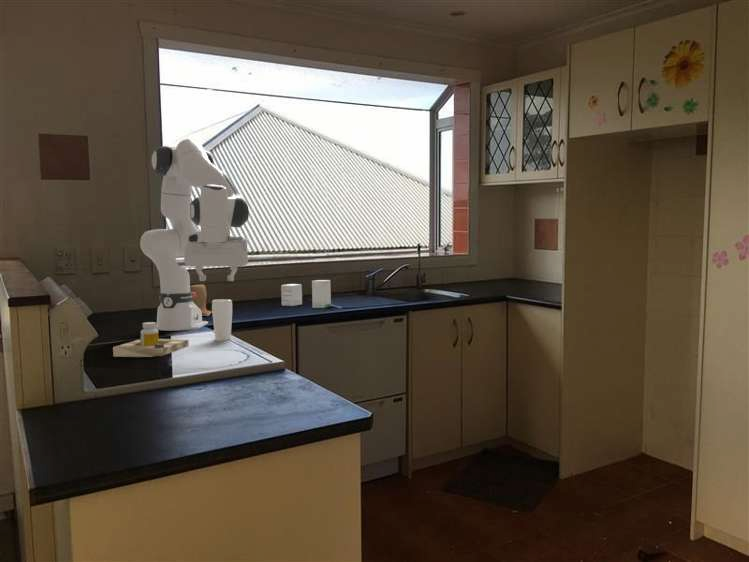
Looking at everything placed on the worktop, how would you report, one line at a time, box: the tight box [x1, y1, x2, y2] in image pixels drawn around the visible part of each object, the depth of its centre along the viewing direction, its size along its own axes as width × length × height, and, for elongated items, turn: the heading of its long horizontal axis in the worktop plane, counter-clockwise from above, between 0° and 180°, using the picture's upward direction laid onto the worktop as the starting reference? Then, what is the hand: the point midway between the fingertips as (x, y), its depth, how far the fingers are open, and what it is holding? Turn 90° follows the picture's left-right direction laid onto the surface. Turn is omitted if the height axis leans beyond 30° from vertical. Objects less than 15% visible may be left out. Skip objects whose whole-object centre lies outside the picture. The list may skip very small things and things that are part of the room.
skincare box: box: [311, 279, 332, 309], centre depth 301 cm, size 8×7×16 cm
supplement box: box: [280, 283, 303, 307], centre depth 314 cm, size 7×7×13 cm
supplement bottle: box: [140, 321, 159, 346], centre depth 205 cm, size 5×5×10 cm
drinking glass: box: [211, 298, 233, 342], centre depth 221 cm, size 7×7×15 cm
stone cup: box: [190, 284, 212, 317], centre depth 289 cm, size 15×12×15 cm
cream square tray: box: [112, 338, 189, 358], centre depth 205 cm, size 17×17×4 cm
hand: (216, 280), depth 201 cm, fingers open, 8 cm apart
